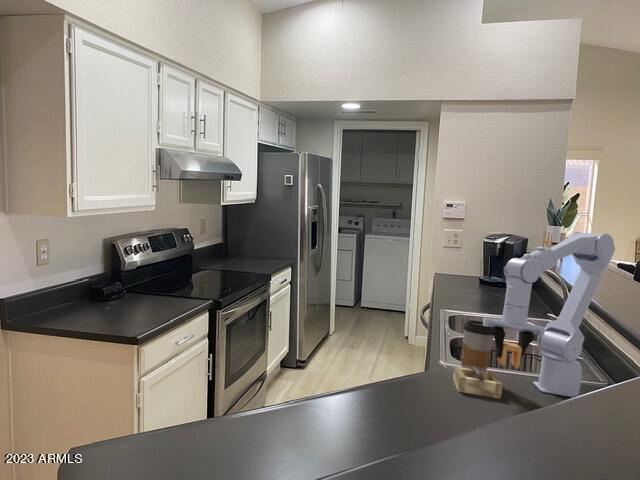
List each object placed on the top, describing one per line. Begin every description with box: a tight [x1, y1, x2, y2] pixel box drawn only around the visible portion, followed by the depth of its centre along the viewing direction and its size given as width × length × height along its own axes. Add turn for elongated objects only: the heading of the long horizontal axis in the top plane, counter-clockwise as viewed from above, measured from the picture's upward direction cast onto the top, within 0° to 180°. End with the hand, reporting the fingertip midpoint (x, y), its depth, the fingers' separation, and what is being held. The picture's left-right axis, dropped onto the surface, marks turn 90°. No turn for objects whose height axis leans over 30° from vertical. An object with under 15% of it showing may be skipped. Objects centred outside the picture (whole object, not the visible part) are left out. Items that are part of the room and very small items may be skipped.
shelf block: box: [452, 365, 504, 399], centre depth 119 cm, size 10×10×5 cm
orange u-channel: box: [496, 341, 522, 369], centre depth 120 cm, size 4×5×5 cm
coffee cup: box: [460, 319, 494, 372], centre depth 129 cm, size 8×8×15 cm
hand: (508, 358), depth 120 cm, fingers closed on orange u-channel, 4 cm apart
